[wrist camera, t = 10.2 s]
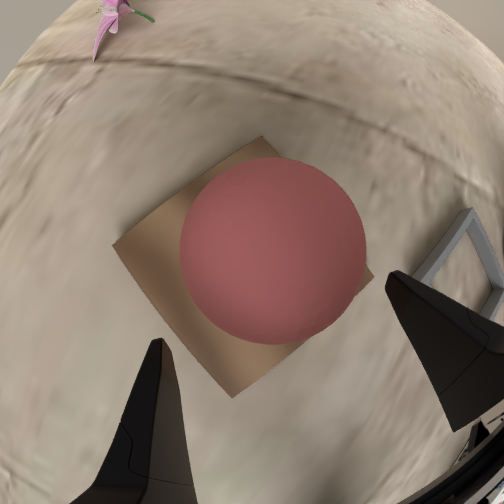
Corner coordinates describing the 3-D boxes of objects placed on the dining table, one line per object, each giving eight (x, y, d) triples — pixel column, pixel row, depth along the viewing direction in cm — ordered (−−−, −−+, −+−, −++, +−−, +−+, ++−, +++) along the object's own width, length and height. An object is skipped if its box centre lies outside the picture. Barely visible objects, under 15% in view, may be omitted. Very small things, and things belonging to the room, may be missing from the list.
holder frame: (451, 363, 22) (463, 366, 20) (407, 281, 22) (420, 281, 20) (497, 289, 23) (508, 289, 21) (460, 211, 24) (472, 207, 22)
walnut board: (231, 390, 19) (232, 398, 18) (119, 247, 20) (111, 245, 18) (365, 277, 21) (374, 277, 20) (259, 144, 22) (261, 135, 20)
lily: (122, 11, 24) (76, -13, 15) (192, -18, 20) (149, -57, 11) (104, 77, 26) (46, 59, 17) (177, 51, 23) (116, 13, 14)
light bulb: (317, 282, 20) (434, 280, 8) (230, 335, 18) (249, 414, 7) (267, 196, 20) (327, 95, 8) (178, 245, 19) (119, 187, 7)
